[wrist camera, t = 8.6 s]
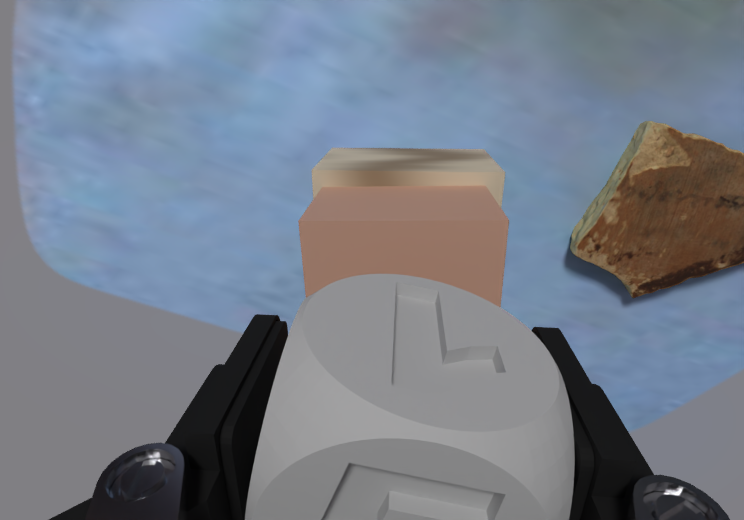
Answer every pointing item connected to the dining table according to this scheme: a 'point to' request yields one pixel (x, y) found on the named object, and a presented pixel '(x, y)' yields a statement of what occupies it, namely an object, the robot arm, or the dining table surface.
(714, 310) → the dining table surface
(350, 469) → the die
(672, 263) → the shard
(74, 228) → the dining table surface
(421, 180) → the tower base
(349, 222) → the tower top
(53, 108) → the dining table surface
